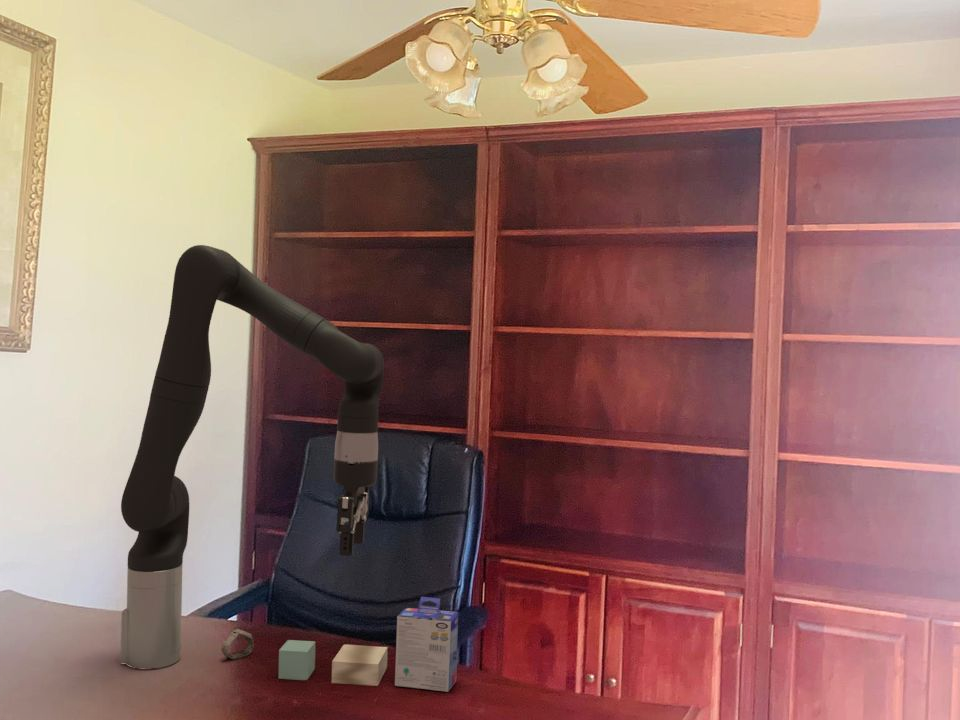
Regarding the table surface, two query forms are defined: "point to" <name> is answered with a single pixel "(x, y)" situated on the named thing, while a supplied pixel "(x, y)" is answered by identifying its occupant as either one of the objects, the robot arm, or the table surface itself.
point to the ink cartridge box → (426, 647)
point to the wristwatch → (232, 638)
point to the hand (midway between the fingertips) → (351, 548)
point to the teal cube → (296, 660)
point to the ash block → (359, 665)
